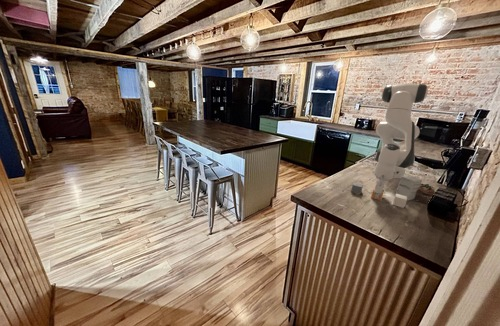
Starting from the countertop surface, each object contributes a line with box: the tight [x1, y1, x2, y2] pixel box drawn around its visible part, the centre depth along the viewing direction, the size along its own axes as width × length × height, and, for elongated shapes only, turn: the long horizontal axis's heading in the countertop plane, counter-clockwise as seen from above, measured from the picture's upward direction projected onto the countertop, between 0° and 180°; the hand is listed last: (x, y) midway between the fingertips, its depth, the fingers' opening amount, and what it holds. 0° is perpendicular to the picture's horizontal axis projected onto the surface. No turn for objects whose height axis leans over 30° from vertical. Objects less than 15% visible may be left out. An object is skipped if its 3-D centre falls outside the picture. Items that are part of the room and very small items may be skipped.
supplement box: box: [394, 174, 423, 201], centre depth 119 cm, size 7×7×13 cm
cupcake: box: [414, 183, 436, 204], centre depth 117 cm, size 10×10×10 cm
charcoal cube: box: [350, 181, 364, 196], centre depth 123 cm, size 5×5×5 cm
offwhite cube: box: [392, 193, 408, 209], centre depth 112 cm, size 5×5×5 cm
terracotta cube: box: [370, 186, 385, 201], centre depth 117 cm, size 5×5×5 cm
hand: (377, 194), depth 118 cm, fingers closed on terracotta cube, 5 cm apart
